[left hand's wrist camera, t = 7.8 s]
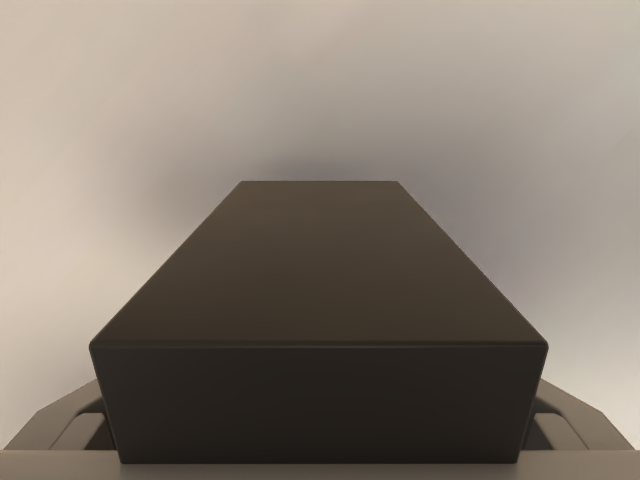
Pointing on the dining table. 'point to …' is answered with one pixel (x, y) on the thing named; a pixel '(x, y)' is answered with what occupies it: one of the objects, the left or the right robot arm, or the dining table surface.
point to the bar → (318, 340)
